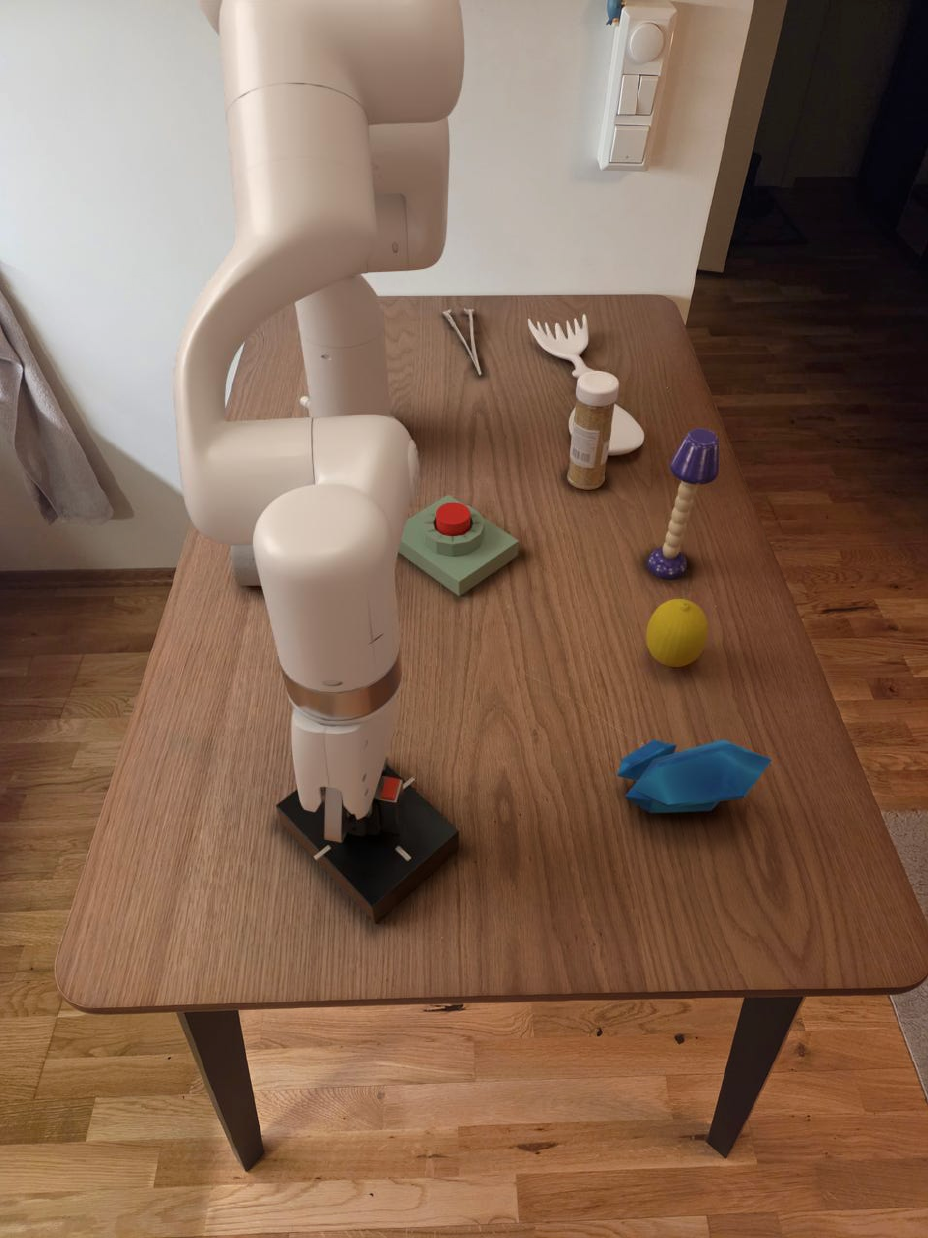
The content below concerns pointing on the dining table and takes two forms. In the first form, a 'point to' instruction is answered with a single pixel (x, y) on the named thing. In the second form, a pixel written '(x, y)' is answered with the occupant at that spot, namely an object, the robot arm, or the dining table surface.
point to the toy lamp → (685, 497)
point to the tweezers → (474, 356)
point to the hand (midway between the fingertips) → (365, 812)
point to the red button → (453, 519)
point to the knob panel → (376, 850)
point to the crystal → (690, 775)
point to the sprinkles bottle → (592, 429)
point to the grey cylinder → (244, 565)
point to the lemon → (677, 632)
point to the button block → (456, 548)
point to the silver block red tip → (389, 804)
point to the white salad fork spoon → (623, 425)
